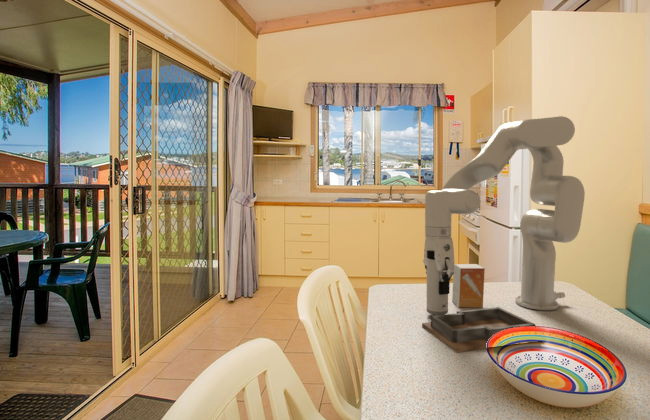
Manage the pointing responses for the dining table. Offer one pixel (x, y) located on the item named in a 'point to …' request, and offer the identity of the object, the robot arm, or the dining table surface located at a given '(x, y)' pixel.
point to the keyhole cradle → (472, 327)
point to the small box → (468, 285)
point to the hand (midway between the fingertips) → (437, 290)
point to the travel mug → (435, 288)
